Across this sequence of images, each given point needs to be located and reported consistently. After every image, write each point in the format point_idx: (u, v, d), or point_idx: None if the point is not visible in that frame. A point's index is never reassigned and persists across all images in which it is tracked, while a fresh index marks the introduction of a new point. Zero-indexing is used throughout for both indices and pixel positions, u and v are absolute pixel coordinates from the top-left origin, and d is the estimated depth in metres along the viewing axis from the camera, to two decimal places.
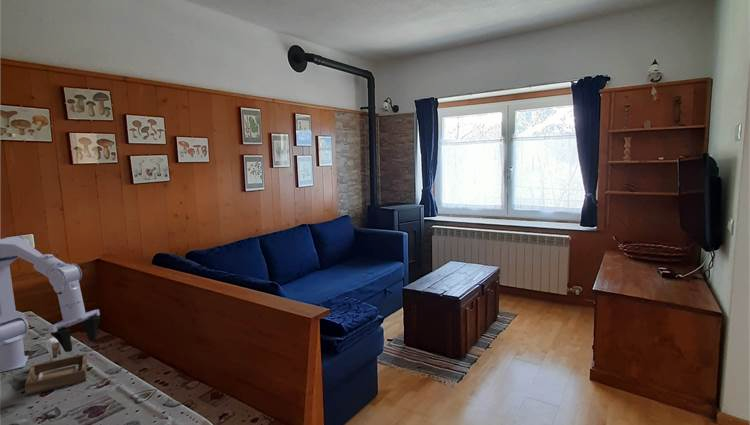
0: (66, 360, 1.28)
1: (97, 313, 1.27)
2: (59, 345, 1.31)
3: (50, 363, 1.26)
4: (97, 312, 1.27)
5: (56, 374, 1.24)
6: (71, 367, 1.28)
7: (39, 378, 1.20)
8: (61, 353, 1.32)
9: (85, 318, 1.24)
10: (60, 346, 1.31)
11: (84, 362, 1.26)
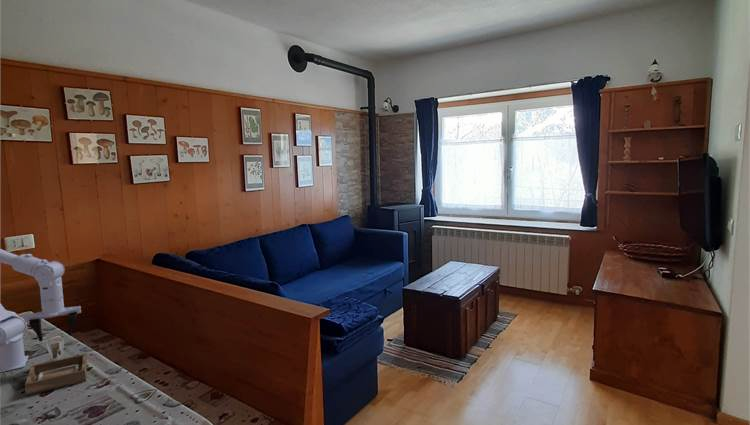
0: (66, 360, 1.28)
1: (77, 311, 1.34)
2: (59, 345, 1.31)
3: (50, 363, 1.26)
4: (77, 310, 1.34)
5: (56, 374, 1.24)
6: (71, 367, 1.28)
7: (39, 378, 1.20)
8: (61, 353, 1.32)
9: (64, 313, 1.32)
10: (60, 346, 1.31)
11: (84, 362, 1.26)
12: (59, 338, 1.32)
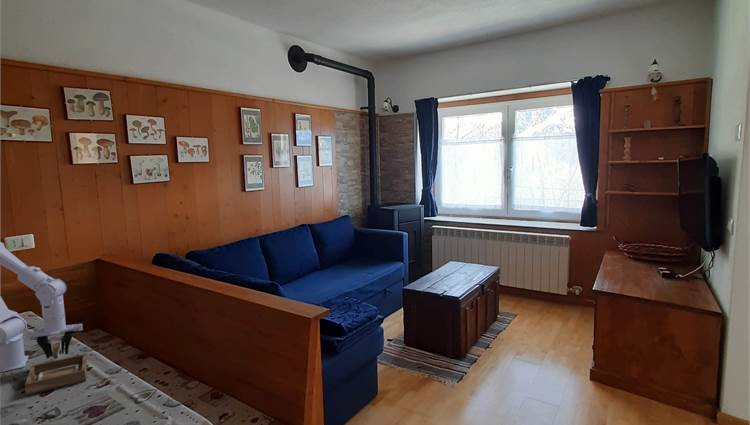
0: (66, 360, 1.28)
1: (79, 328, 1.34)
2: (60, 345, 1.31)
3: (50, 363, 1.26)
4: (79, 327, 1.34)
5: (56, 374, 1.24)
6: (71, 367, 1.28)
7: (39, 378, 1.20)
8: (61, 353, 1.32)
9: (66, 331, 1.33)
10: (61, 346, 1.32)
11: (84, 362, 1.26)
12: (60, 338, 1.32)
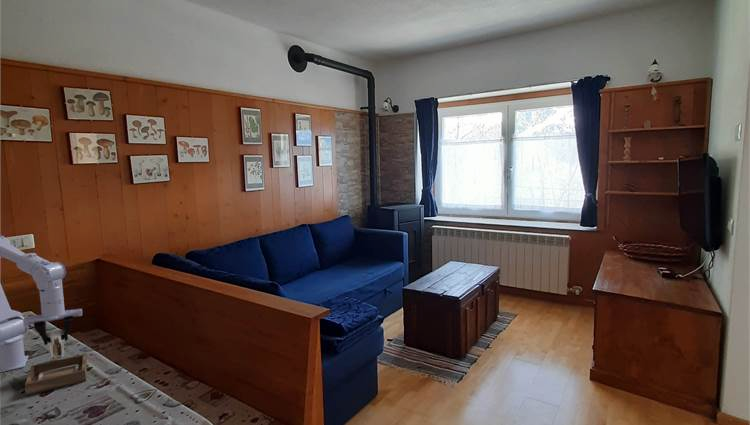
0: (66, 360, 1.28)
1: (79, 314, 1.28)
2: (60, 338, 1.26)
3: (50, 363, 1.26)
4: (79, 313, 1.28)
5: (56, 374, 1.24)
6: (71, 367, 1.28)
7: (39, 378, 1.20)
8: (62, 347, 1.27)
9: (65, 316, 1.27)
10: (61, 340, 1.26)
11: (84, 362, 1.26)
12: (60, 331, 1.27)
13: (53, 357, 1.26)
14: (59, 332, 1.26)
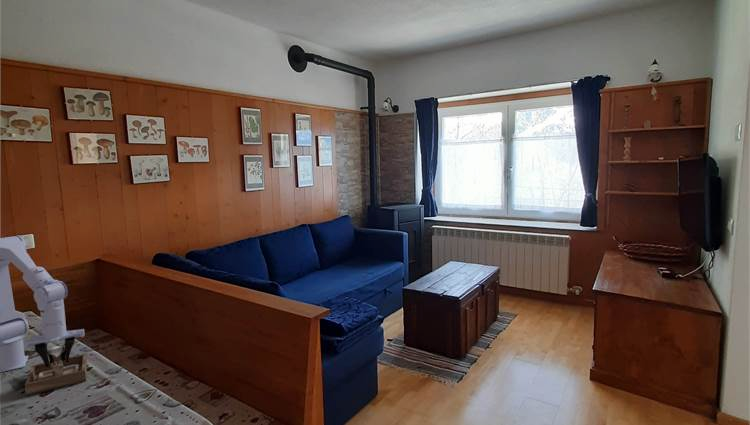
0: None
1: (81, 334, 1.24)
2: (61, 356, 1.22)
3: None
4: (81, 333, 1.24)
5: None
6: (71, 367, 1.28)
7: (39, 378, 1.20)
8: (63, 364, 1.23)
9: (67, 337, 1.23)
10: (62, 357, 1.22)
11: (84, 362, 1.26)
12: (61, 348, 1.23)
13: (55, 375, 1.22)
14: (60, 349, 1.22)
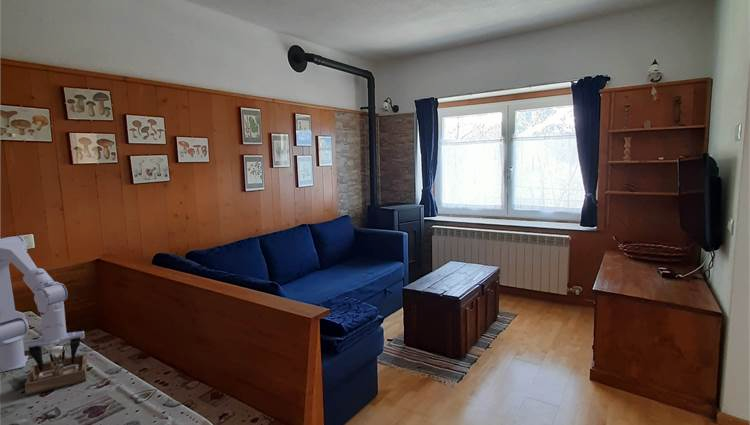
0: (66, 360, 1.28)
1: (81, 336, 1.24)
2: (61, 355, 1.22)
3: (50, 363, 1.26)
4: (81, 335, 1.24)
5: None
6: (71, 367, 1.28)
7: (39, 378, 1.20)
8: (63, 364, 1.23)
9: (67, 339, 1.23)
10: (62, 356, 1.22)
11: (84, 362, 1.26)
12: (61, 348, 1.23)
13: (55, 375, 1.22)
14: (60, 349, 1.22)
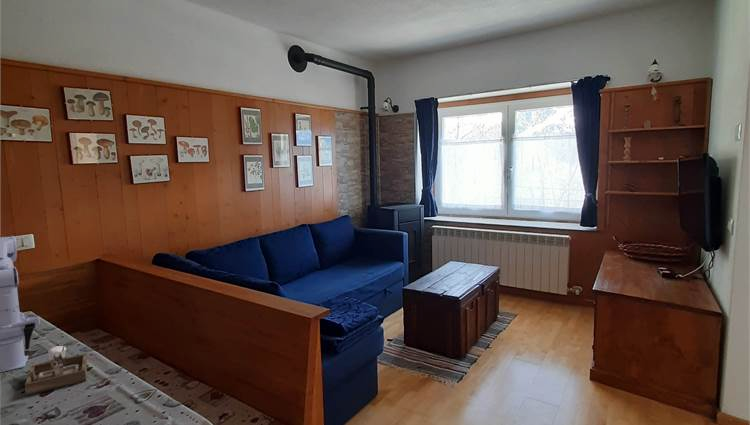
0: (66, 360, 1.28)
1: (35, 322, 1.20)
2: (61, 355, 1.22)
3: (50, 363, 1.26)
4: (35, 321, 1.20)
5: None
6: (71, 367, 1.28)
7: (39, 378, 1.20)
8: (63, 364, 1.23)
9: (20, 325, 1.19)
10: (62, 356, 1.22)
11: (84, 362, 1.26)
12: (61, 348, 1.23)
13: (55, 375, 1.22)
14: (60, 349, 1.22)
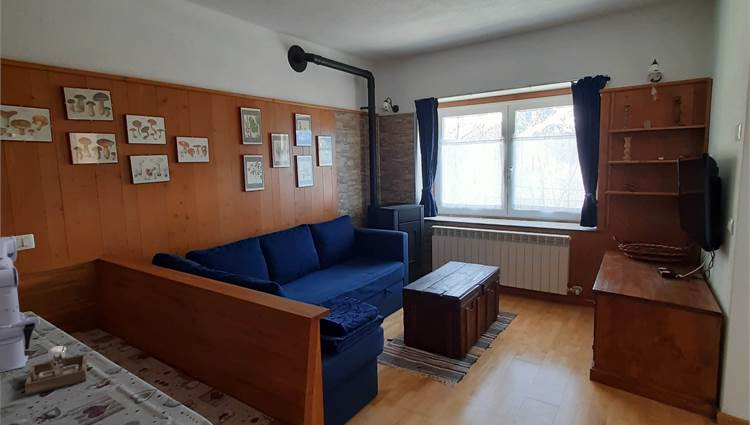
0: (66, 360, 1.28)
1: (35, 322, 1.20)
2: (61, 355, 1.22)
3: None
4: (35, 321, 1.20)
5: None
6: (71, 367, 1.28)
7: (39, 378, 1.20)
8: (63, 364, 1.23)
9: (20, 325, 1.19)
10: (62, 356, 1.22)
11: (84, 362, 1.26)
12: (61, 348, 1.23)
13: (55, 375, 1.22)
14: (60, 349, 1.22)
